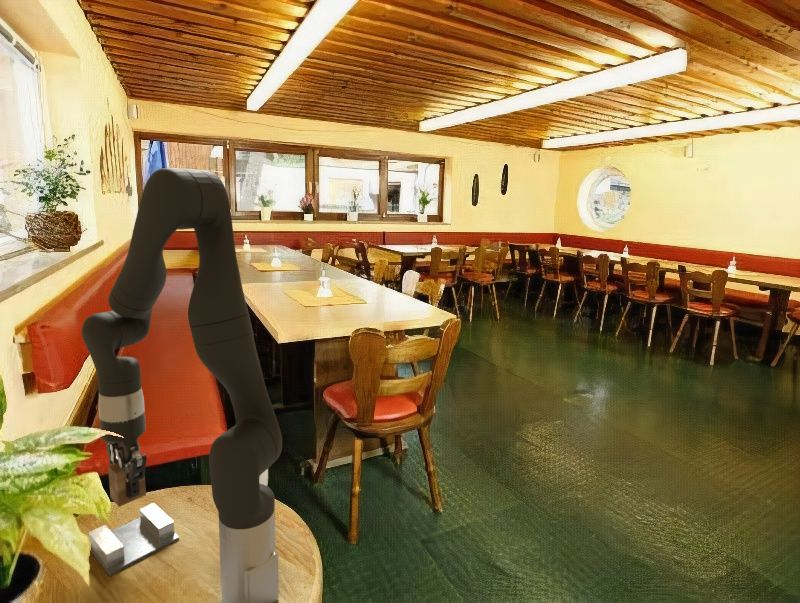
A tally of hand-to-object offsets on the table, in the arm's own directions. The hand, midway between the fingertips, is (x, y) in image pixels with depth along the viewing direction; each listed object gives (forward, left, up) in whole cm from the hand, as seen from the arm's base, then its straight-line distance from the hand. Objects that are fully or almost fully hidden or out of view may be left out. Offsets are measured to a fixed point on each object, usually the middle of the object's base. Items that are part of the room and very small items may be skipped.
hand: (128, 490), depth 93 cm
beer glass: (-12, -20, -12) cm, 26 cm away
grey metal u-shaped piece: (0, 0, -12) cm, 12 cm away
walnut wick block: (0, 0, -1) cm, 1 cm away
